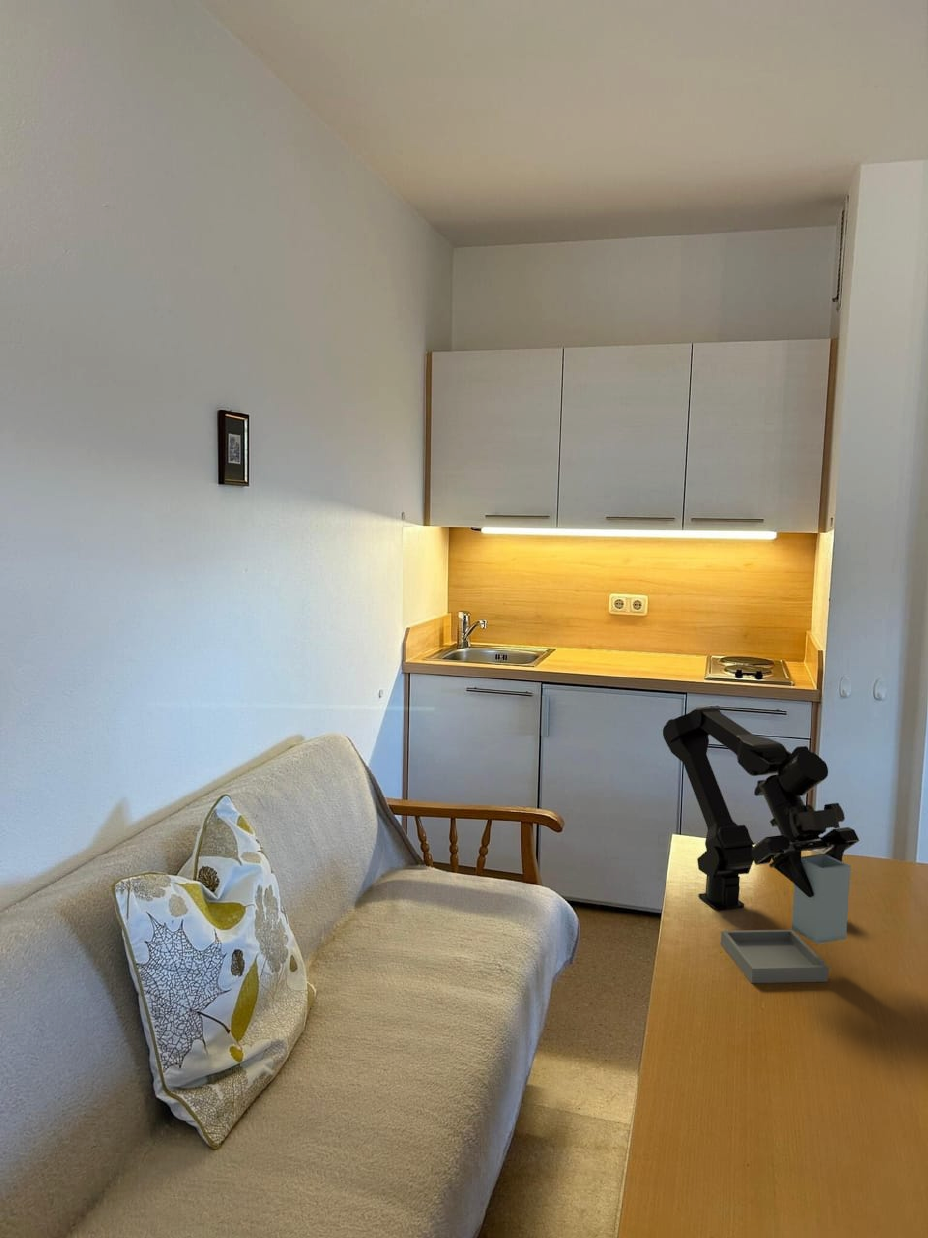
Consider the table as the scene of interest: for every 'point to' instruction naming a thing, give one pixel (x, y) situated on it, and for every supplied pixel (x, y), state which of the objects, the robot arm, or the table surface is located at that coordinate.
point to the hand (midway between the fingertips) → (827, 894)
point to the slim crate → (822, 900)
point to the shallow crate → (774, 956)
